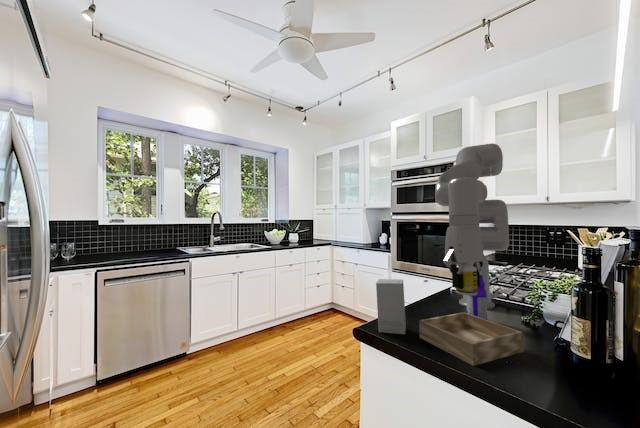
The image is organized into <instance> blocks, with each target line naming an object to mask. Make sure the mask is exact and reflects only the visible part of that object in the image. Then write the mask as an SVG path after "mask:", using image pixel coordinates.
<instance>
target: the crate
mask: <svg viewBox="0 0 640 428" xmlns="http://www.w3.org/2000/svg"><path fill="white" fill-rule="evenodd" d="M418 324H419V325H418V326H419V328H418V329H419V330H418V332H419V338H420V339H421V340H424V341H426V342H428V343H429V344H431V345H433V346H434V347H437V348H439V349H440V350H443V351H444V352H446V353H448V354H450V355H452V356H453V357H455V358H456V359H457V358H458V359H460V360H461V361H463V362H465V363H467V364H469V365H471V366H472V367H473V366H478V365H482V364H485V363H486V364H487V363H489V362H492V361H493V362H494V361H496V360H499V359H503V358H507V357H510V356H513V355H517V354H522V353H524V352H525V350H524V349H525V347H524V332H523V331H521V330H518V329H516V328H511V327H509V326H507V325H502V324H500V323H498V322H494V321H492V320H486V319H483V318H480V317H477V316H474V315H471V314H468V313H467V312H465V311H463V312H457V313H453V314H446V315H441V316H435V317H431V318H426V319H419V321H418Z"/></svg>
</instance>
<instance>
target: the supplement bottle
mask: <svg viewBox="0 0 640 428" xmlns="http://www.w3.org/2000/svg"><path fill="white" fill-rule="evenodd" d="M473 264H474V262H473V261H471V262H468V263H463V267H462V272H461V274H463V283H464V288H463V289H459V288H455V293H456V294H459V295H462V296H463V295H470V296H473V295H477V268H476V267H474V266H473ZM456 267H458V265H457V264H456Z"/></svg>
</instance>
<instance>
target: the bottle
mask: <svg viewBox="0 0 640 428" xmlns="http://www.w3.org/2000/svg"><path fill="white" fill-rule="evenodd" d="M484 286H485V283H484V281H483V278H482V271H481V272H480V287H477V295H473V296H470V295H466V301H467V307H466V313H468V314H471V315H474V316H477V317H480V318H483V319H486V320H488V309H487V299H486V296H487V294H486V290H485V288H484Z"/></svg>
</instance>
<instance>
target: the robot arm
mask: <svg viewBox="0 0 640 428" xmlns="http://www.w3.org/2000/svg"><path fill="white" fill-rule="evenodd" d="M501 148H502V147H500V146H499V145H498V144H496V143H494V142H493V143H491V142H490V143H485V144H477V145H471V146H467V147H466V146H465V147H463V148H461V149H460V150H459V151H458V152H457V155H456V158H455V161H454V162H453V163H452V167H451V168H449V169H447V170H446V171H443V173H441V174H440V175H439V176H438V179H437V181H436V185H435V189H434V199H435V201H436V204H438V205H439V206H442V207H448V220H449V222H448V224H449V225H448V227H447V229H446V232H445V239H444V241H445V243H444V259H443V262H442V263H443V264H444V265H445V266H446V267H447V268H448V269H449V272H450V273H451V276H452V278H451V281H452V287H453V288H455V289H456V288H459V289H463V288H464V283H463V274H461V272H462V267H463V263H468V262H471V261H473V262H474V264H473V266H474V267H476V268H477V287H480V272H481V271H482V278H483V281H484V283H485V286H484V288H485V290H486V294H487V296H486V299H487V310H491V309H494V308H495V306H496V304H495V303H494V302H493V301H492V300H494V299H497V298H498V295H497V294H496V293H491V291H490V269H489V267H490V266H489V260H488V259H487V257H486V255H485V254H484V251H488V252H489V251H490V252H491V251H493V252H502V251H506V250H508V248H509V246H510V230H509V229H510V228H509V213H508V208H507V207H508V206H507V204H506V202H505V201H503V200H502V199H487V198H488V188H487V185H486V184H485V183H484V182H483V181H482V180H479V179H480V178H485V177H487V178H488V177H495V176H498V175H500V174H501V173H502V171H503V167H504V166H503V162H504V161H503V160H504V158H503V157H504V156H503V152H502V149H501ZM480 224H492V225H494V226H480ZM457 265H458V267H456V266H457ZM458 304H459V305H461V306H463V307H466V308H467V301H466V295H462V298H460V299H459V301H458Z"/></svg>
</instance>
